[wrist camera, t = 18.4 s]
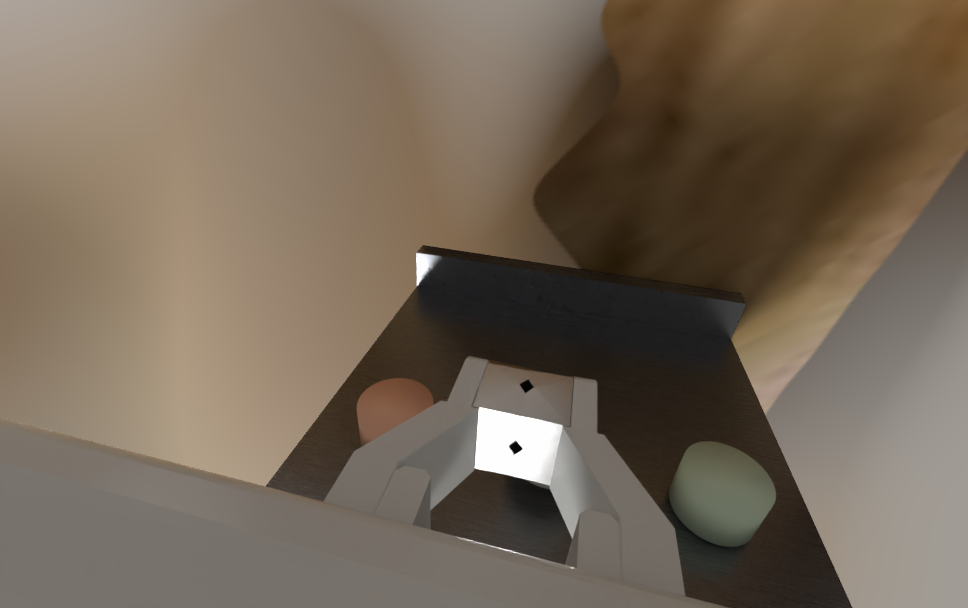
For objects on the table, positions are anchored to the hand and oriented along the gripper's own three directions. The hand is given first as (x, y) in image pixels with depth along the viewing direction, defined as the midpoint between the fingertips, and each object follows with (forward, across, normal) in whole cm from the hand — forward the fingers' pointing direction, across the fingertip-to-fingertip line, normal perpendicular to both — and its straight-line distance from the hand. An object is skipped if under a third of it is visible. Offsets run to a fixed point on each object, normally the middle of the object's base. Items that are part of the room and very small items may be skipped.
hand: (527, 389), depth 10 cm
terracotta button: (+13, +9, +15) cm, 22 cm away
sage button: (+14, -11, +15) cm, 23 cm away
